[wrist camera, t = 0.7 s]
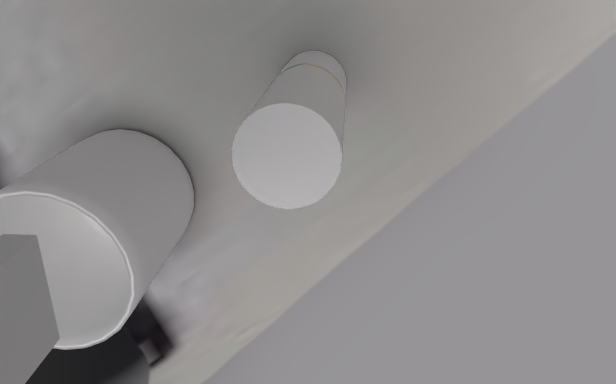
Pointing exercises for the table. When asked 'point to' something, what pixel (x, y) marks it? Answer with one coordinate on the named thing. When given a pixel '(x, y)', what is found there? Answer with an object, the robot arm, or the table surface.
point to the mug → (101, 227)
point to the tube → (294, 134)
